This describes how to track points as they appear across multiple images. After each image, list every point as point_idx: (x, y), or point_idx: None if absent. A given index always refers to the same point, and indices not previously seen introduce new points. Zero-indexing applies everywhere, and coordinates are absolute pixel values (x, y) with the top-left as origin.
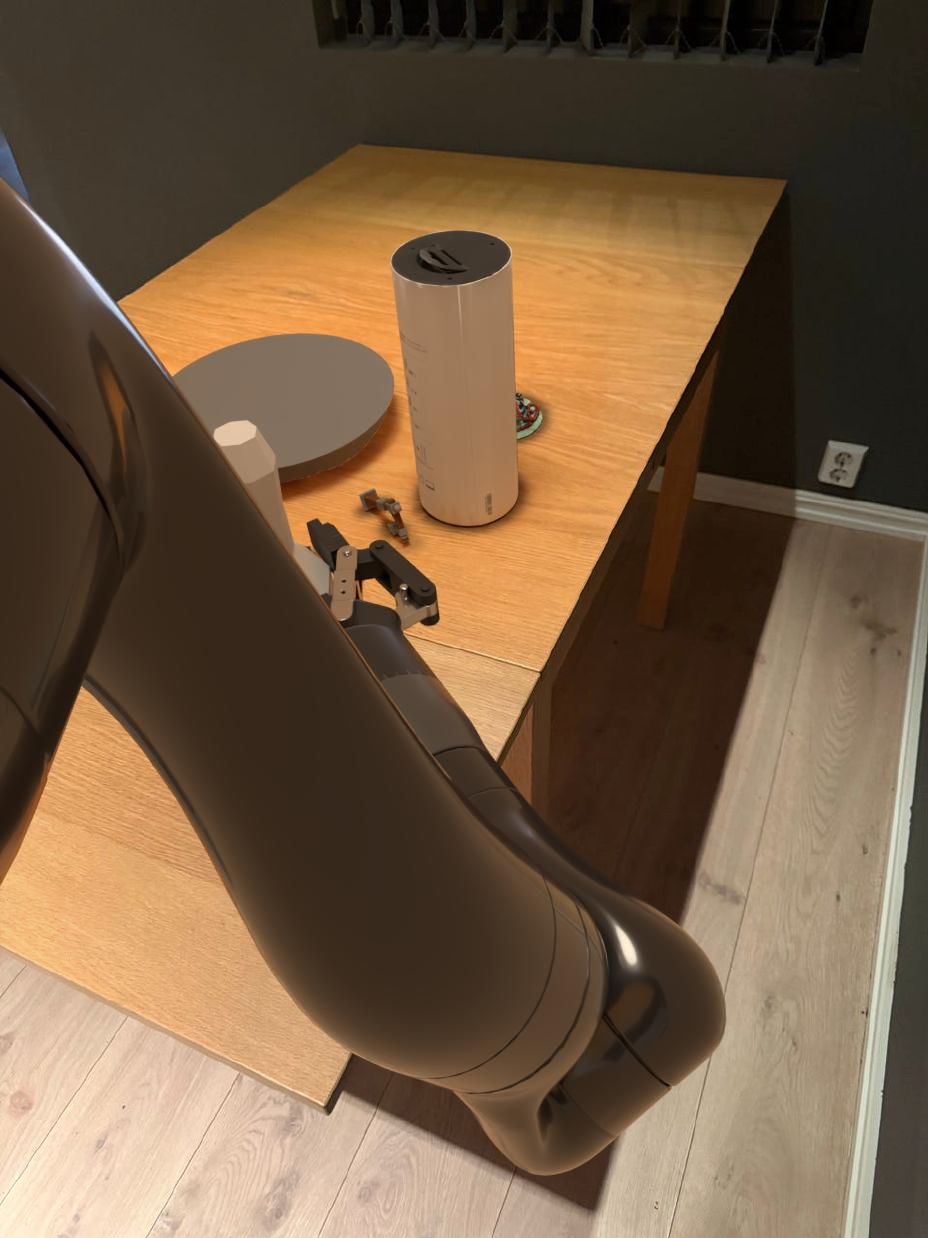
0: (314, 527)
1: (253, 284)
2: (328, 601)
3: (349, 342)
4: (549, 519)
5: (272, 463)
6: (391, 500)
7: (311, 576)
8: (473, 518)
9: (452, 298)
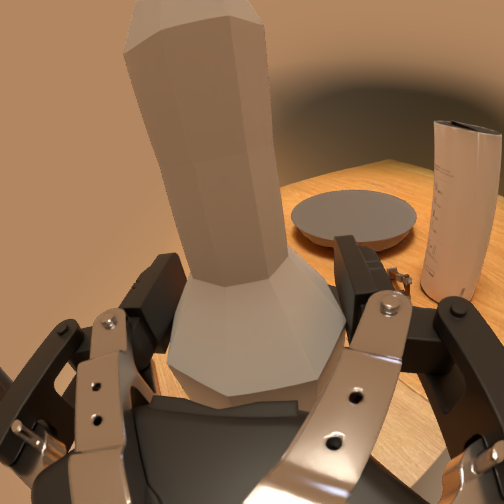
0: (342, 245)
1: (359, 179)
2: (283, 434)
3: (396, 198)
4: (488, 313)
5: (236, 11)
6: (407, 275)
7: (296, 333)
8: None
9: (474, 140)
